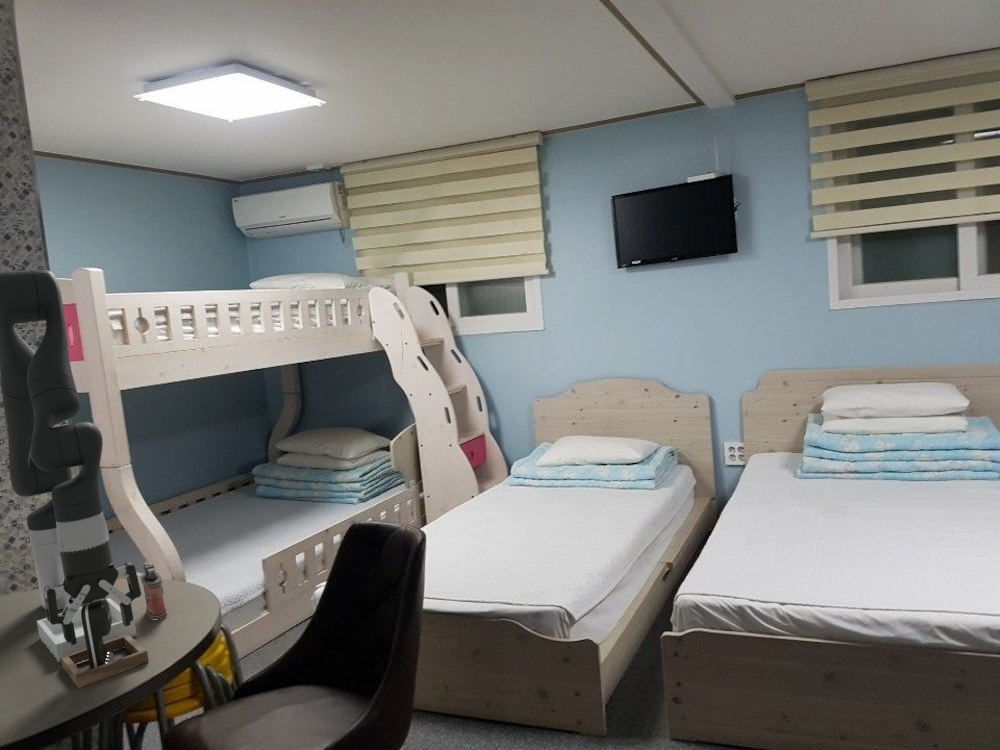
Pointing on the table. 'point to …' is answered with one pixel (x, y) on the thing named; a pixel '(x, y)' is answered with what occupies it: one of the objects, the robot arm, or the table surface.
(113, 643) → the brown flat square frame
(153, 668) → the table surface
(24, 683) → the table surface
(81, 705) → the table surface
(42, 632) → the bin
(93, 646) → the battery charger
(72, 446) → the robot arm
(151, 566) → the lighter
